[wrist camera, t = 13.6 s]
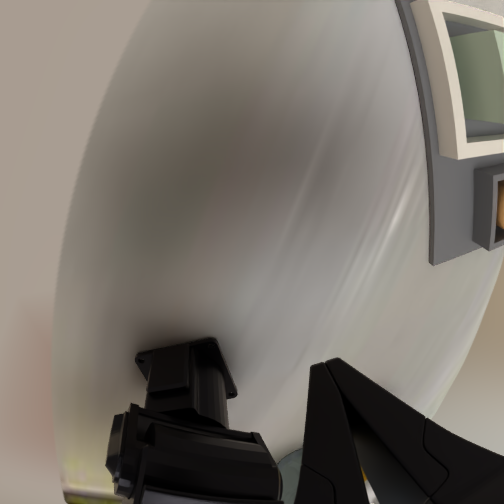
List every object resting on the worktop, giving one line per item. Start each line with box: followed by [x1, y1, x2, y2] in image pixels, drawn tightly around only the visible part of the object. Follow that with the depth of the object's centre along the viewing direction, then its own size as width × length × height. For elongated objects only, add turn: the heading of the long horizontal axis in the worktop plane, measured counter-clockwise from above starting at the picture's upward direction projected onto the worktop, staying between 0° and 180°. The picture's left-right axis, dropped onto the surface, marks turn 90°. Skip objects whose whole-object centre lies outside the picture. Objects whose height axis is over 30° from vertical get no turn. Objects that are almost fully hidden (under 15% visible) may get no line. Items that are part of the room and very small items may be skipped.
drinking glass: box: [277, 449, 303, 504], centre depth 26 cm, size 10×10×12 cm
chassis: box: [395, 0, 504, 266], centre depth 17 cm, size 20×12×3 cm, turn 13°
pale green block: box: [450, 30, 504, 124], centre depth 13 cm, size 6×4×6 cm
